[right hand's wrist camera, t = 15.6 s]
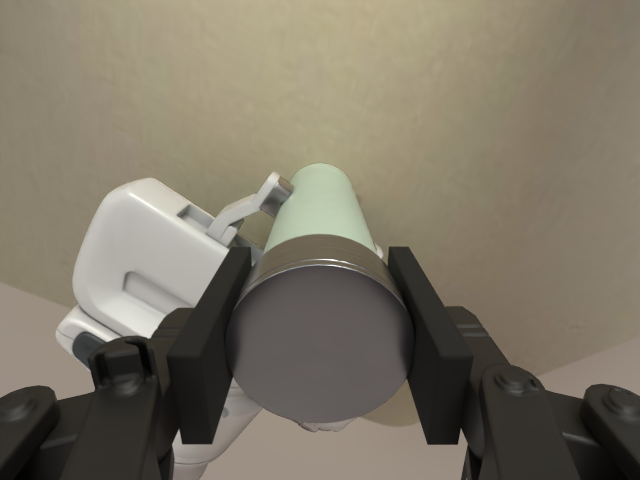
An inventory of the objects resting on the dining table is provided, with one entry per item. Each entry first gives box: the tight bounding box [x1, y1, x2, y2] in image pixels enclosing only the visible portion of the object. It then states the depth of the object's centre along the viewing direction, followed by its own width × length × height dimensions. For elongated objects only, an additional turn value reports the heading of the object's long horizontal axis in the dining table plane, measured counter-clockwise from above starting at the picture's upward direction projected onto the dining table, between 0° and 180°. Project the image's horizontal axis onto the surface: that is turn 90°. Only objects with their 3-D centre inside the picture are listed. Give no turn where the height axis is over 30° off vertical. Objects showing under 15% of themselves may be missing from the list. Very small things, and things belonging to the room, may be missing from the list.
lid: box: [224, 234, 416, 423], centre depth 12 cm, size 5×5×2 cm
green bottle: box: [262, 163, 378, 255], centre depth 19 cm, size 5×5×17 cm
